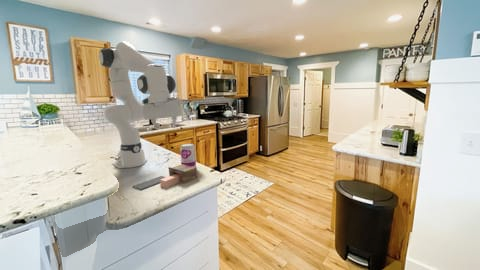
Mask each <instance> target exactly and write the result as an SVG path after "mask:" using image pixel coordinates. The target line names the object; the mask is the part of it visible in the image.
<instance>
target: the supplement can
mask: <svg viewBox="0 0 480 270" xmlns="http://www.w3.org/2000/svg"><path fill="white" fill-rule="evenodd" d="M179 148H180V165H182V164H184V165H188V166H193V167H197V160H196V148H195V145H194V144H193V143H184V144H180V147H179Z"/></svg>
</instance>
